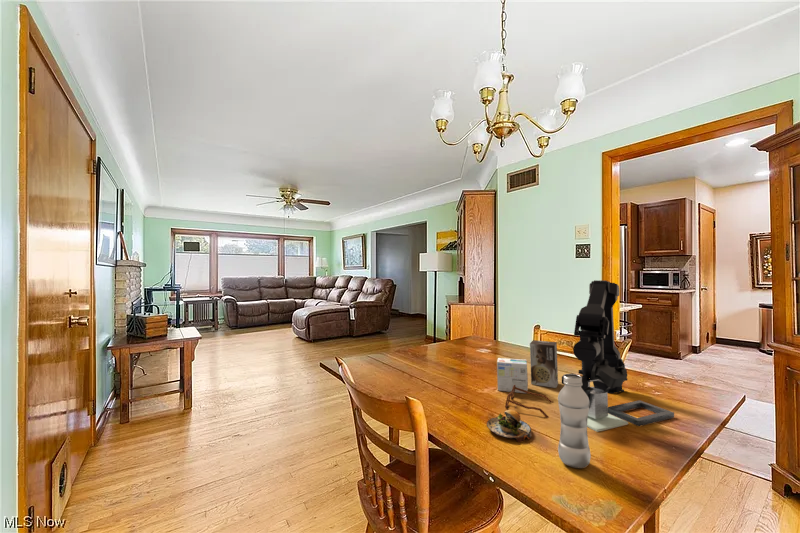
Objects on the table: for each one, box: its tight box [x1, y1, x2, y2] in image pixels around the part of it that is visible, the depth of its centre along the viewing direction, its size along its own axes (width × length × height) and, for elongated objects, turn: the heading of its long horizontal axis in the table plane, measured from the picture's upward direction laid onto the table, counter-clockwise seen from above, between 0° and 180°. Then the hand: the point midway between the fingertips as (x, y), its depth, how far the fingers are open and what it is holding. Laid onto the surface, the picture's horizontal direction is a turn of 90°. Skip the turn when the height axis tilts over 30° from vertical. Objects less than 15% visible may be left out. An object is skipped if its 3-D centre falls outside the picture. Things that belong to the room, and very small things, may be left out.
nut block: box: [588, 386, 609, 419], centre depth 98 cm, size 5×5×7 cm
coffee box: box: [529, 339, 559, 389], centre depth 128 cm, size 9×6×16 cm
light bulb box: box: [496, 357, 529, 394], centre depth 123 cm, size 11×7×11 cm, turn 71°
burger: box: [486, 404, 533, 444], centre depth 91 cm, size 12×12×8 cm
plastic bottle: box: [557, 373, 592, 469], centre depth 75 cm, size 6×7×20 cm
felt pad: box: [587, 413, 629, 433], centre depth 98 cm, size 12×12×1 cm
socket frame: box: [608, 399, 675, 427], centre depth 100 cm, size 10×15×2 cm, turn 110°
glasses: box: [504, 385, 554, 418], centre depth 108 cm, size 13×13×5 cm
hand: (593, 407), depth 98 cm, fingers closed on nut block, 5 cm apart
